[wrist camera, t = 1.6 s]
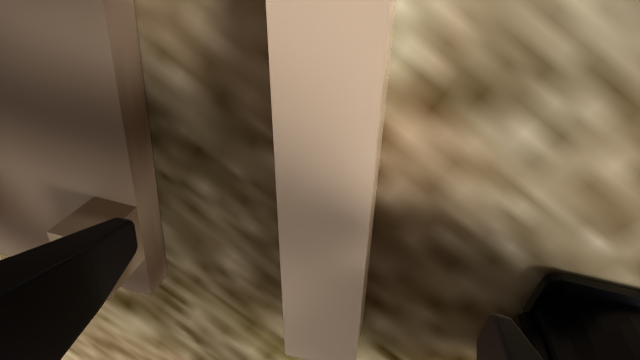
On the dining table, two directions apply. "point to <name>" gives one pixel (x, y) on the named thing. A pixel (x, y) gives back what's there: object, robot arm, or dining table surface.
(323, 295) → the clay strip
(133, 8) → the tabbed beige plate
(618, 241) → the dining table surface
